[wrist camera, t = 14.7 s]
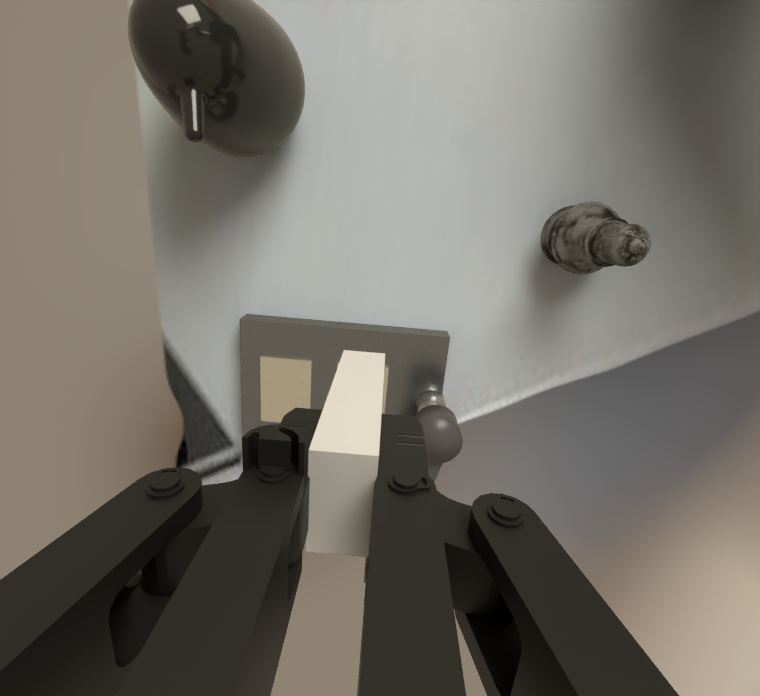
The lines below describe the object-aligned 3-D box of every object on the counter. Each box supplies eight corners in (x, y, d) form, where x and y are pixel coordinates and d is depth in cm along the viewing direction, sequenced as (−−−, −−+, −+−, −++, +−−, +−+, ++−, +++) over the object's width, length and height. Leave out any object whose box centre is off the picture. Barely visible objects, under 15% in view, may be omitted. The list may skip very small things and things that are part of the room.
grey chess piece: (528, 259, 39) (582, 280, 28) (551, 194, 38) (620, 189, 26) (587, 275, 40) (665, 302, 28) (613, 211, 38) (708, 213, 27)
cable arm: (419, 387, 40) (423, 415, 34) (459, 400, 40) (469, 429, 35) (359, 541, 45) (355, 584, 40) (395, 551, 46) (395, 595, 41)
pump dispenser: (209, 170, 38) (96, 148, 23) (180, 34, 35) (29, -89, 20) (321, 157, 37) (277, 127, 23) (303, 17, 34) (237, -122, 20)
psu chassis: (451, 331, 42) (460, 351, 36) (434, 453, 46) (440, 489, 40) (246, 314, 42) (222, 331, 36) (249, 437, 46) (228, 471, 40)
